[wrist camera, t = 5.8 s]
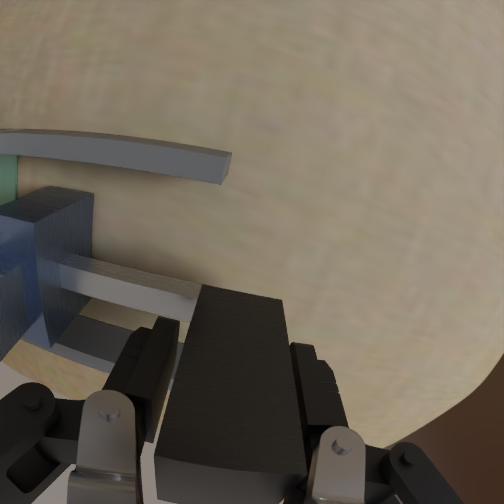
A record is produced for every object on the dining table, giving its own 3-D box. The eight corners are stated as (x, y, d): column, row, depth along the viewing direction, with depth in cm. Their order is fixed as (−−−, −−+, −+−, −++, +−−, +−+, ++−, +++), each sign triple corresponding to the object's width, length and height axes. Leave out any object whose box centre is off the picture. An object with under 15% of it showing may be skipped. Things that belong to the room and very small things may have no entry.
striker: (49, 186, 13) (-114, 268, 3) (283, 231, 14) (338, 436, 4) (52, 283, 15) (-56, 402, 5) (254, 333, 16) (255, 525, 6)
